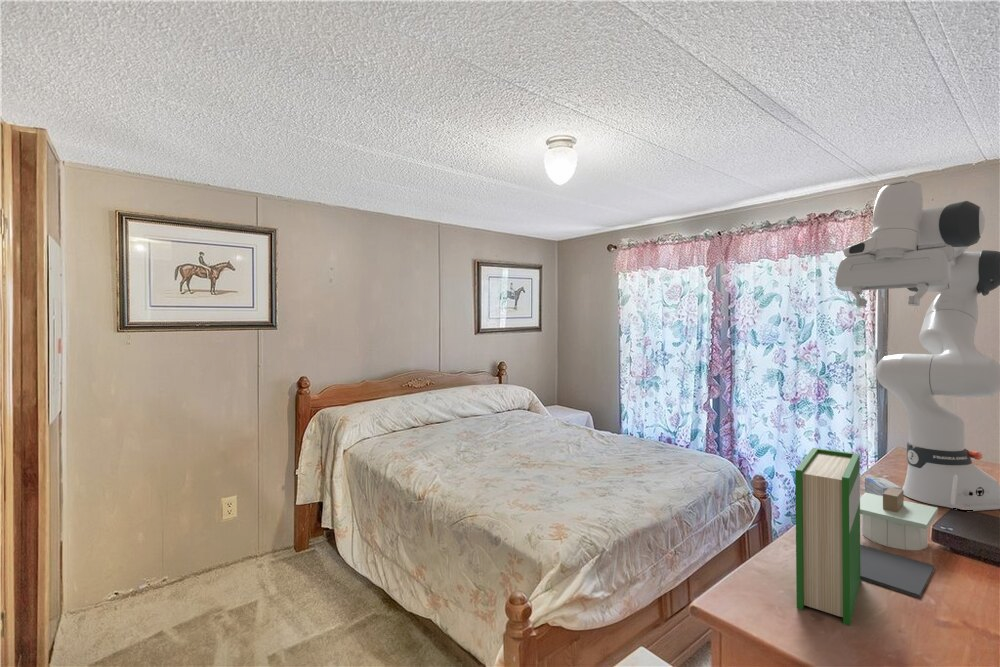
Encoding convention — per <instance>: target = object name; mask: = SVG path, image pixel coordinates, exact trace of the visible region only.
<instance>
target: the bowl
mask: <svg viewBox="0 0 1000 667" xmlns="http://www.w3.org/2000/svg"><path fill="white" fill-rule="evenodd" d="M861 531H862V536H863V537H865V538H867V539H868V540H869V541H871V542H872V543H873V542H874V543H875V544H876V543H877V544H880V545H882V546H885V547H889V548H894V549H897V550H898V549H899V550H904V551H922V550H924V549H926V548H925V547H927V548H928V529H927V530H926V529H922V528H917V527H913V526H909V525H905V524H901V523H897V522H892V521H888V520H884V519H880V518H876V517H872V516H867V515H863V514H861ZM923 548H924V549H923ZM921 549H922V550H921Z"/></svg>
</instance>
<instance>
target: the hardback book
mask: <svg viewBox="0 0 1000 667" xmlns="http://www.w3.org/2000/svg"><path fill="white" fill-rule="evenodd" d="M860 455H861V454H860V453H854V452H850V451H849V452H847V451H841V450H831V449H825V448H819V447H812V448H811V449H810V450H809V452H808V453H807V454H806V456H805V457H804V458H803V459H802V461H801V462H800V463H799V464H798V466H797V467H796V468H795V470H794V471H795V473H794V476H795V477H794V478H795V481H794V482H795V489H794V490H795V553H796V554H795V561H796V562H795V563H796V564H795V570H796V571H795V572H796V574H795V578H796V581H795V583H796V587H795V588H796V609H797V608H798V609H797V610H801V611H804V610H805V606H807V607H809V608H812V609H816V610H819V611H822V612H825V613H828V614H831V615H834V616H837V617H841V618H842V623H843V625H846V626H849V627H850V626H851V623H852V618H853V616H854V611H855V605H856V601H857V598H858V593H859V588H860V586H861V585H860V584H861V580H862V579H861V576H860V544H861V514H860V497H861V461H860V460H861V458H860V457H861V456H860Z"/></svg>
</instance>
